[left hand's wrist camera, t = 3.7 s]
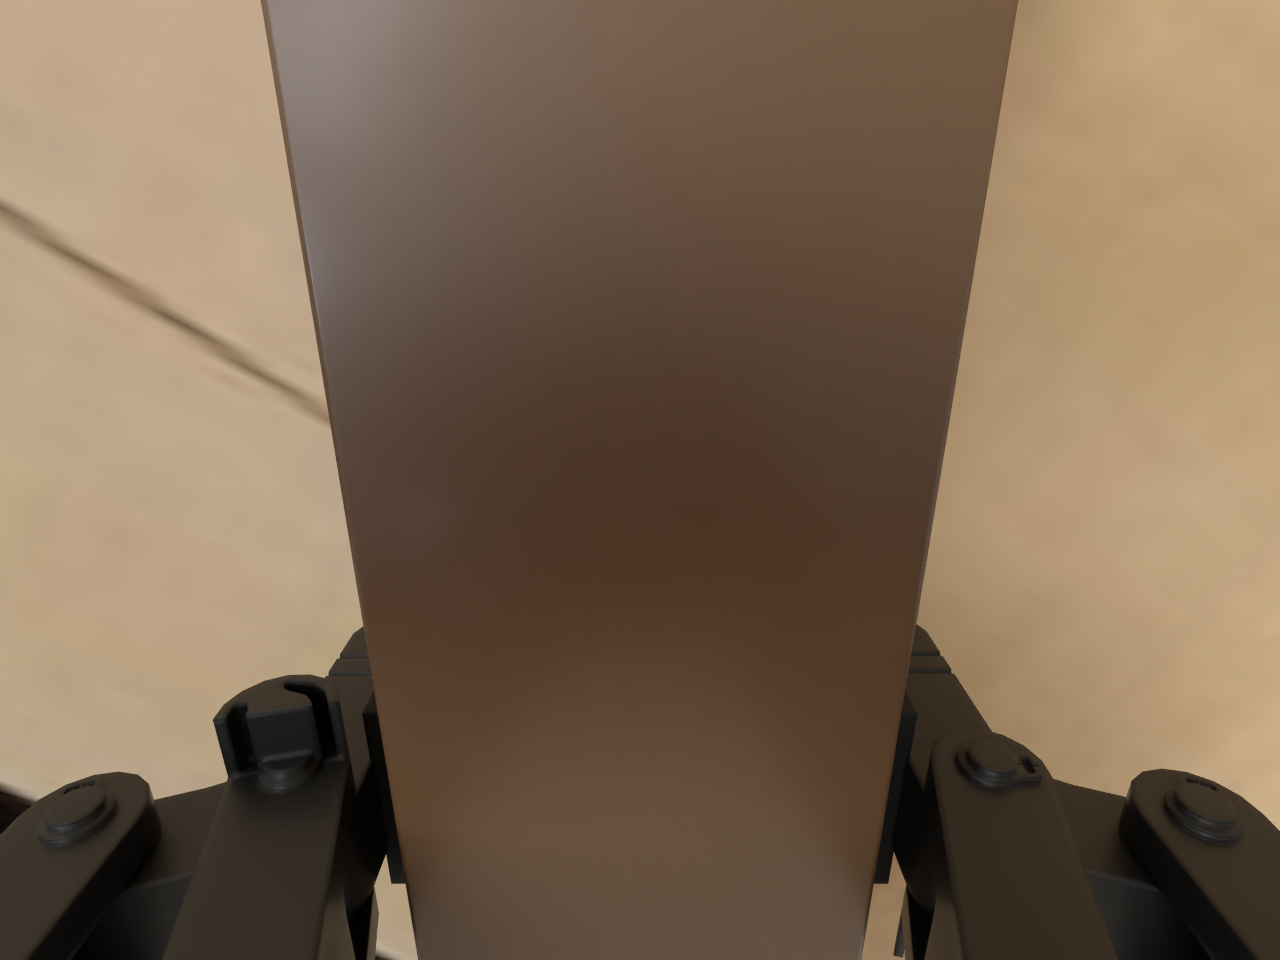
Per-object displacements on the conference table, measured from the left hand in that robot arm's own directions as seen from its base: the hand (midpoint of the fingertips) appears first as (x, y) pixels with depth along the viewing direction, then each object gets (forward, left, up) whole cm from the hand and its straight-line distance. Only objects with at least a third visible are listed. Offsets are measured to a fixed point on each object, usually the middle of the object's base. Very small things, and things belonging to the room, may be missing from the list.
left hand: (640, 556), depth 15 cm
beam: (+7, +23, -1) cm, 24 cm away
